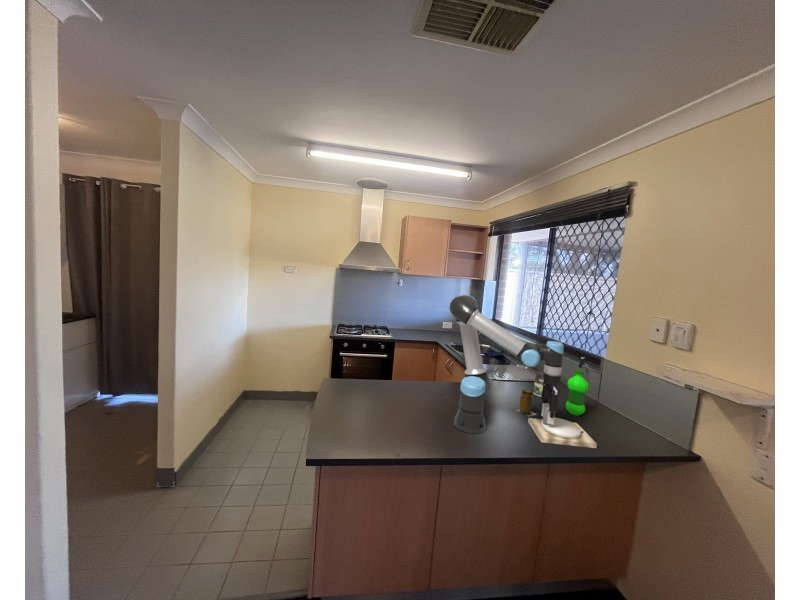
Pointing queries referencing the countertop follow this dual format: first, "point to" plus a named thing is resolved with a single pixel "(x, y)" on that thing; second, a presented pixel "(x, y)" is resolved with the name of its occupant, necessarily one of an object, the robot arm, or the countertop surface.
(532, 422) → the dial panel
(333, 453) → the countertop surface
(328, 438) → the countertop surface
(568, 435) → the dial
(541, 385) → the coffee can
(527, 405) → the condiment
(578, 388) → the plastic bottle
